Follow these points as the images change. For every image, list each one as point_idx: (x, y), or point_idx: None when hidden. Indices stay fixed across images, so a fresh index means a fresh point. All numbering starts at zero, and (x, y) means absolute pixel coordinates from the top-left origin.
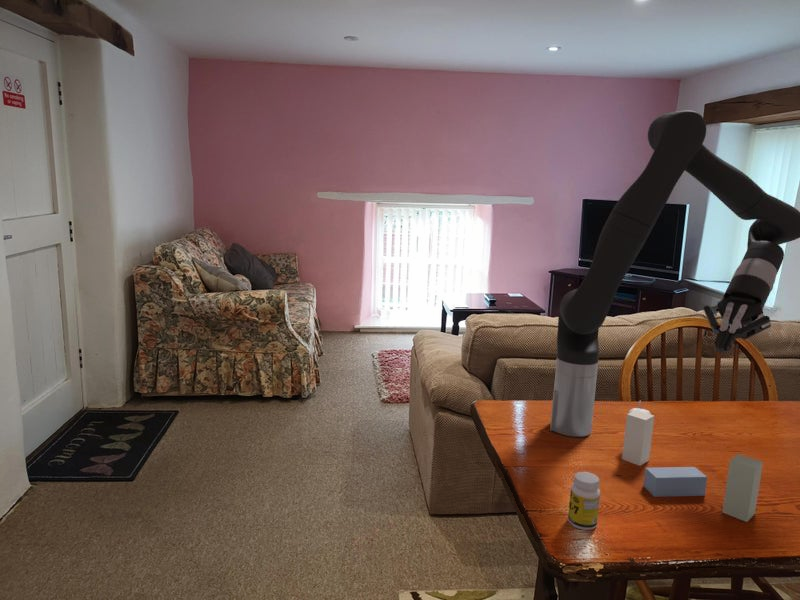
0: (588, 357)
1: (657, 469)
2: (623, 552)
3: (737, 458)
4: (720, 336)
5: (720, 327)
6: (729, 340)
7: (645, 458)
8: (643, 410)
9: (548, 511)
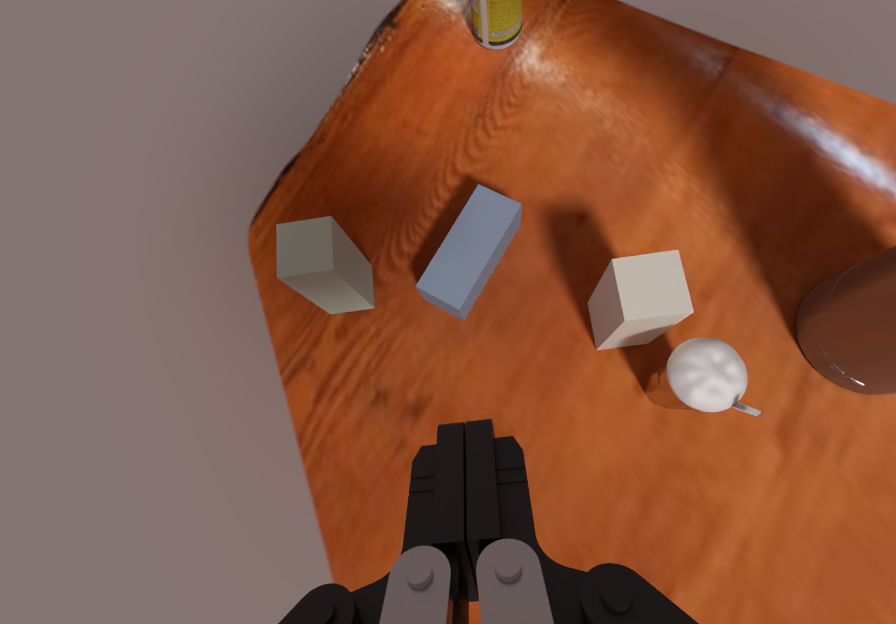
0: None
1: (500, 219)
2: (410, 28)
3: (322, 239)
4: (494, 487)
5: (540, 577)
6: (424, 500)
7: (594, 324)
8: (702, 376)
9: (553, 9)
